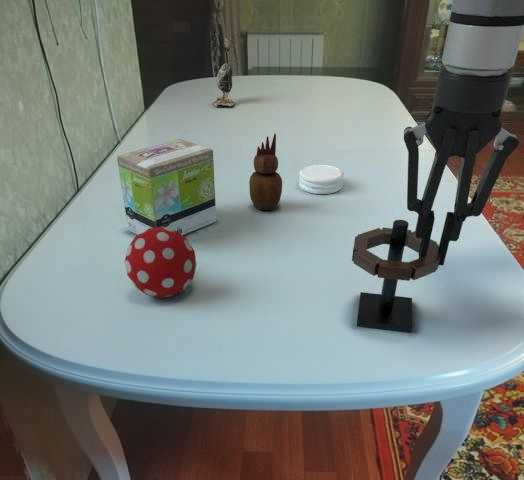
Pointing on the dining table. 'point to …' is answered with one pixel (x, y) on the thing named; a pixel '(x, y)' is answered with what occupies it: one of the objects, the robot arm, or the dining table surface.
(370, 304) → the stand
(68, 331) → the dining table surface
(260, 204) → the wooden figurine
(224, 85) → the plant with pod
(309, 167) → the coaster
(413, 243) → the ring
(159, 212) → the tea box
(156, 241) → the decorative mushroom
